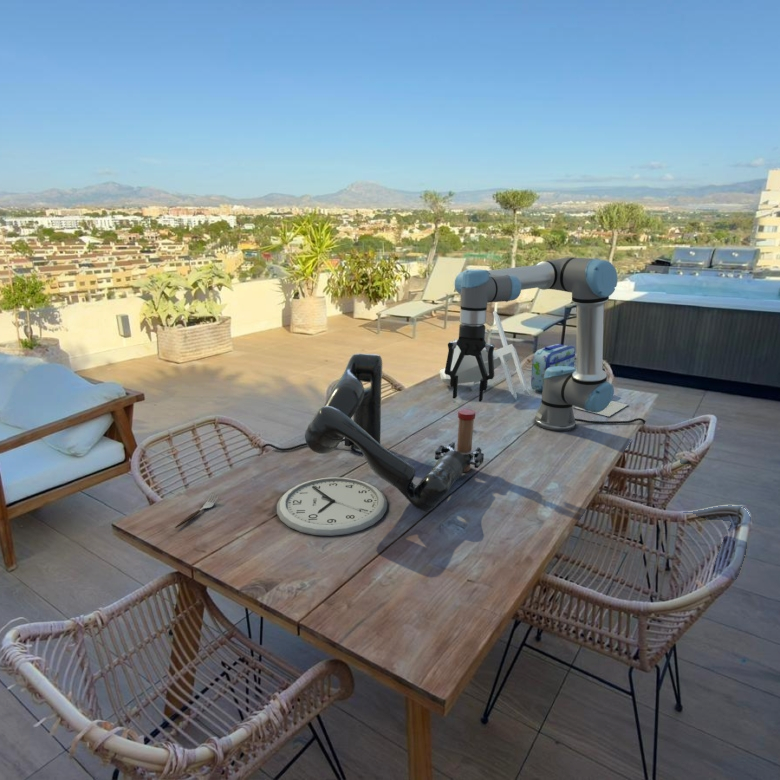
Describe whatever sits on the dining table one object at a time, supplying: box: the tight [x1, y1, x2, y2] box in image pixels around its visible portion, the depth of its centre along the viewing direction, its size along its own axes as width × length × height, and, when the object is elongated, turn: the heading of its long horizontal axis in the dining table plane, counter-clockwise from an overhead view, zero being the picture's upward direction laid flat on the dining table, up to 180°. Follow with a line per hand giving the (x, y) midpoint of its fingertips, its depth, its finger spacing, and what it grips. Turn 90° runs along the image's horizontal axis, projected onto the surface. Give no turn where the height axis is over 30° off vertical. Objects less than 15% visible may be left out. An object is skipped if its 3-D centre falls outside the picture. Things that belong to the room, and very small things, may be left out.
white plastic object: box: [438, 310, 531, 400], centre depth 245 cm, size 37×45×31 cm
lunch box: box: [530, 343, 576, 392], centre depth 248 cm, size 26×11×21 cm, turn 134°
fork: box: [174, 492, 220, 529], centre depth 137 cm, size 3×16×2 cm, turn 160°
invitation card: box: [573, 400, 629, 418], centre depth 226 cm, size 21×1×15 cm
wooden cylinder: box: [456, 418, 475, 473], centre depth 163 cm, size 4×4×19 cm
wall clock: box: [276, 476, 388, 537], centre depth 142 cm, size 30×2×30 cm
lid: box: [457, 408, 476, 420], centre depth 160 cm, size 5×5×2 cm
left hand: (466, 447), depth 166 cm, fingers open, 8 cm apart
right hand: (467, 398), depth 159 cm, fingers open, 7 cm apart
